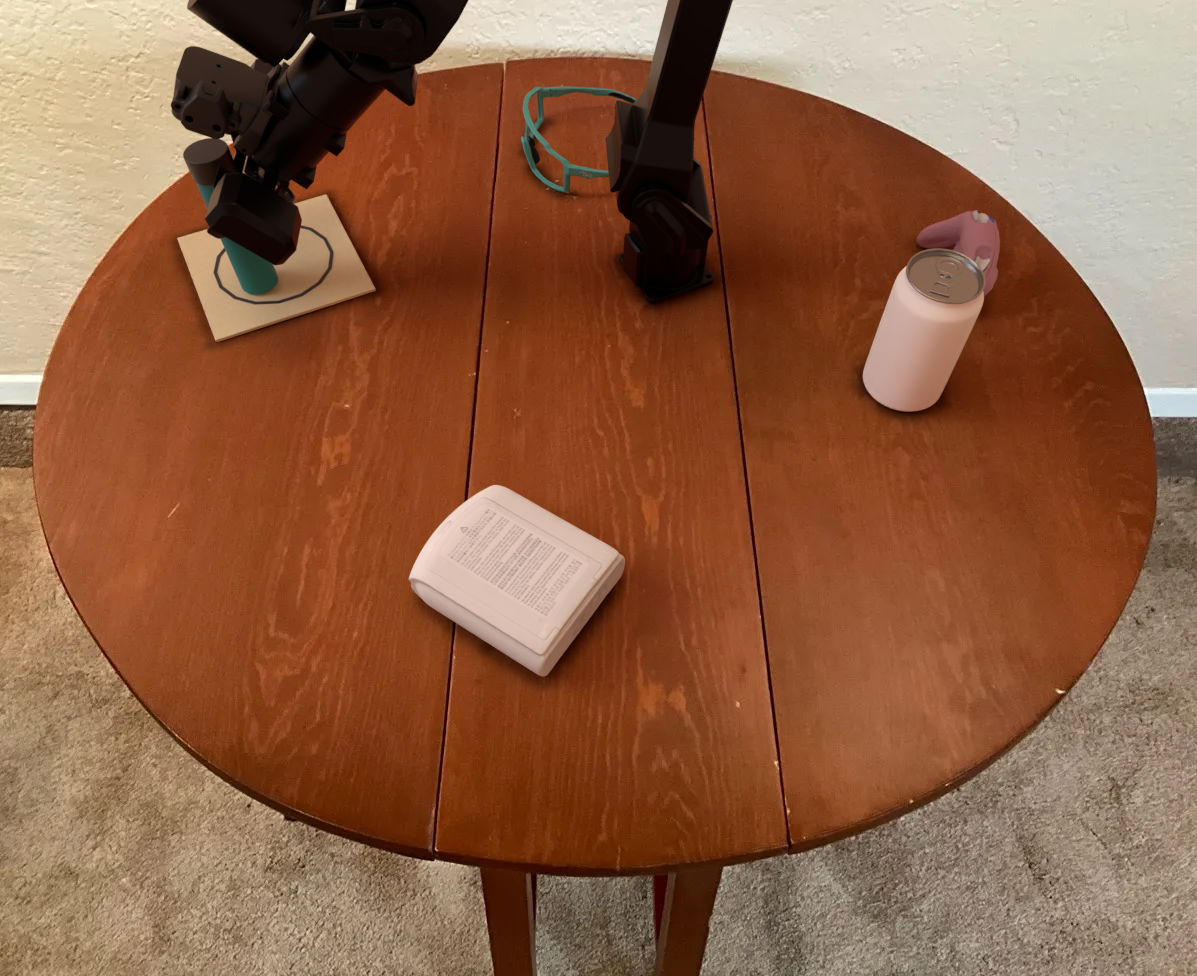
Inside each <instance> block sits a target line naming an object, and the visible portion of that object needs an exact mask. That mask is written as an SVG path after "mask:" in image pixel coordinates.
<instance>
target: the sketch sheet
mask: <svg viewBox="0 0 1197 976" xmlns="http://www.w3.org/2000/svg"><path fill="white" fill-rule="evenodd" d="M295 205H296V206H298V209H299V212H300V215H301V219H302V223H301V228H300V233H299V238H298V244H297V249H296V251H295V252H294V253H293V254H292V255H291V256H290V257H289V259H288V260H287V261H286V262H285V263H284V264H281V265H274V268H275V270H276V273H277V275H278V282H277V284H276V285H275V287H274V288H272V289H271V290H269V291H267V292H265V293H261V294H250V293H247V292H245V291H244V290H243V289H242V287H241V285H240V282H239V280H238V278H237V276H236V273H235V271H234V269H233V266H232V264H231V262H230V260H229V257H228V255H227V253H226V250H225V248H224V246H223V244H222V241H221V239H217V238H215V237H213V236H212V235H210V234H208V233H207V229H208V228H207V229H202V230H199V231H196V232H192V233H188V234H186V235H183V236H179V237H177V238H176V239H177V242H178V245H179V247H180V249H181V252H182V255H183V258H184V260H185V263H186V266H187V269H188V271H189V274H190V276H191V279H192V282H193V284H194V287H195V291H196V292H197V294H198V298H199V301H200V304H201V306H202V309H203V312H204V314H205V316H206V319H207V322H208V324H209V327H210V330H211V333H212V335H213V338H214V340H215V343H219V342H222V341H226V340H229V339H232V338H235V337H238V336H242V335H243V334H246V333H250V332H254V331H257V330H259V329H262V328H265V327H269V326H272V325H274V324H278V323H281V322H284V321H287V320H290V319H293V318H296V317H299V316H302V315H305V314H306V315H307V314H308V313H309V314H310V313H312V312H314V311H317V310H321V309H324V308H327V307H330V306H333V305H337V304H339V303H342V302H346V301H349V300H351V299H355V298H358V297H361V296H364V295H367V294H369V293H373V292H377V290H376V287H375V284H374V283H373V281H372V279H371V277H370V276H369V273H368V271H367V270H366V268H365V266H364V264H363V262H362V260H361V258H360V256H359V254H358V252H357V250H356V249H355V247H354V244H353V243H352V241H351V238H350V237H349V235H348V233H347V231H346V230H345V227H344V225H343V224H342V222H341V220H340V218H339V216H338V214H337V212H336V209H335V208H334V206H333V205H332V202H331V200H330V198H329V196H328V195H327V193H326V194H322V195H319V196H315V197H312V198H308V199H305V200H302V201H298V202H295Z"/></svg>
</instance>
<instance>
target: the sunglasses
mask: <svg viewBox="0 0 1197 976" xmlns="http://www.w3.org/2000/svg"><path fill="white" fill-rule="evenodd" d="M574 93H580V94H587V95H593V96H597V97H598V96H599V97H611V98H615V99H617V100H621V101H623V102H626V103H629V104H633V103H634V102H635V101H636V100H637V99H638V98H636V97H634V96H631V95H629V94H626V93H624V92H622V91H619V90H615V89H612V88H603V87H587V86H586V87H585V86H565V85H564V86H547V87H545V86H544V87H541V86H535V87H534V88H532V89H531V90H530V91H529V92H527V93H526V95H525V96H524V98H523V102H522V114H523V118H524V121H525V126H524V127H525V128H524V135H523V136H521V137H520V142H521V146H522V148H523V152H524V155H525V158H526V161H527V163H528V165H529V167H530V169H531V172H532V173H533V174H534V176H535V177H536V178H537V179H538V180H539V181H541V182H542V183H543V184H544V185H545V186H548V187H549V188H551V189H553V190H555V191H558V192H561V193H568V192H570V190H571V176H573V177H580V178H584V179H588V180H589V179H595V178H609V172H608V170H604V169H597V168H591V167H587V166H582V165H577V164H572V163H570V161H569V159H566V158H565V157H563V156H562V155H561V154H560V153H558V152H557V151H555V150H554V149H553V148H552V147H551V144H550V143H549V142H548V141H547V140H546V139H545V138H544V136H542V134H541V133H540V132H539V131H538V130H539V128H540V127H541V125H542V124H543V122H544V120H545V107H544V98H545V99H546V98H558V97H561V96H566V95H568V94H569V95H570V94H574ZM535 94H536V106H537V107H536V108H537V119H536V121H535V122H534V121H533V120H532V118H531V114H530V110H529V105H530V104H529V103H530V100H531V98H532V97H533V96H535ZM534 137H535V138H536V139H537V141H538V142H539V143H540V144H541V145H542V146H543V148H544V150H545V151H546V152H547V153H548V154H550V155H551V157H552V156H553V158H555V159H556V160H558V161H559V162H560V163H561V164H562V169H563V170H562V174H563V175H562V176H563V186H562V185H561V186H560V185H558V184H556V183H553V182H552V181H550V180H548V179H547V178H546V177H544V175H543V174H541V173H540V171H539V170H538V168H537V166H536V165H538V164H539V162H540V161H541V157H540V155H539V151H538V150H537V148H536V147H535V146H536V142H535V140H534Z"/></svg>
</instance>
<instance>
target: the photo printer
mask: <svg viewBox="0 0 1197 976" xmlns="http://www.w3.org/2000/svg"><path fill="white" fill-rule="evenodd" d="M625 565H626V559H625V557H624V555H623V554H621V553H619V551H618V550H617V549H615V548H614V547H613V546H611V545H609V544H607V543H606V542H604V541H602V540H600V539H598V538H597V537H595V536H593V535H591V534H590V533H588V532H586V531H584V530H582V529H580V528H579V527H578V526H576V525H574V524H572V523H570V522H569V521H566V520H565V519H563V518H562V517H559V516H558V515H556V514H554V513H552V512H551V511H549V510H548V509H545V508H543V507H542V506H540V505H538V503H537V504H536V503H535V502H533V501H531V500H530V499H527V498H526V497H524V496H522V494H519V493H517V492H515V491H514V490H512V489H510V488H508V487H506V486H503V485H499V484H493V485H490V486H487V487H486V488H484V489H482V490H480V491H479V492H477V493H475V494H474V495H472V496H471V497H469V498H467V500H465V501H464V502H463V503H461V504H460V505H459V506H458V507H457V508H455V509H454V510H453V511H452V512H451V513H450V514H449V515H448V516H447V517H446V518H445V519H444V520H443V521H442V522H441V523H440V524H439V525H438V527H437V528H436V529H435V530H434V532H432V534H431V535H430V537H429V538H428V540H427V541H426V542H425V544H424V545H423V546H422V549H421V551H420V552H419V554H418V556H417V557H416V560H415V562H414V563H413V566H412V568H411V571H410V574H409V575H408V581H409V582H410V584H411V586H410V588H411V589H412V590H413V592H414V593H415V594H416V596H418V597H419V599H421V600H422V601H423V602H424V603H425V604H426V605H427V606H429V607H430V608H432V609H433V610H435V611H436V612H438V613H440V614H441V615H443V616H444V617H446V618H447V619H449V620H451V621H452V622H454V623H456V625H458V626H460V627H461V628H463V629H465V630H466V631H468V632H469V633H471V634H473V635H474V636H476V637H477V638H479V639H480V640H482V641H484V642H485V643H487V644H489V645H490V646H492V647H493V648H495V649H496V650H498V651H499V652H501V653H502V654H504V655H506V656H507V657H509V658H511V659H512V660H514V661H515V662H516V663H518V664H520V665H522V666H523V667H524V668H525V669H528V670H529V671H531V672H533V673H534V674H536V675H538V676H539V677H546V676H548V675H549V674H550V672H551V671H552V670H553V668H554V667H555V666H556V664H557V663H558V662H559V660H560V659H561V657H562V656H563V655H564V653H565V652H566V651H567V650H568V648H569V646H570V645H572V643H573V641H574V640H575V639H576V637H577V636H578V635H579V634H580V632H581V630H582V629H583V628H584V627H585V625H586V624H587V623H588V621H589V620H590V618H591V617H592V616H593V615H594V613H595V612H596V610H597V609H598V608H599V606H600V605H601V604H602V603H603V601H604V600H605V598H606V597H607V595H609V593H610V592H611V591H612V589H613V588H614V587H615V585H616V584H617V583H618V582H619V580H620V579H621V578H622V576H623V573H624V570H625Z"/></svg>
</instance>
